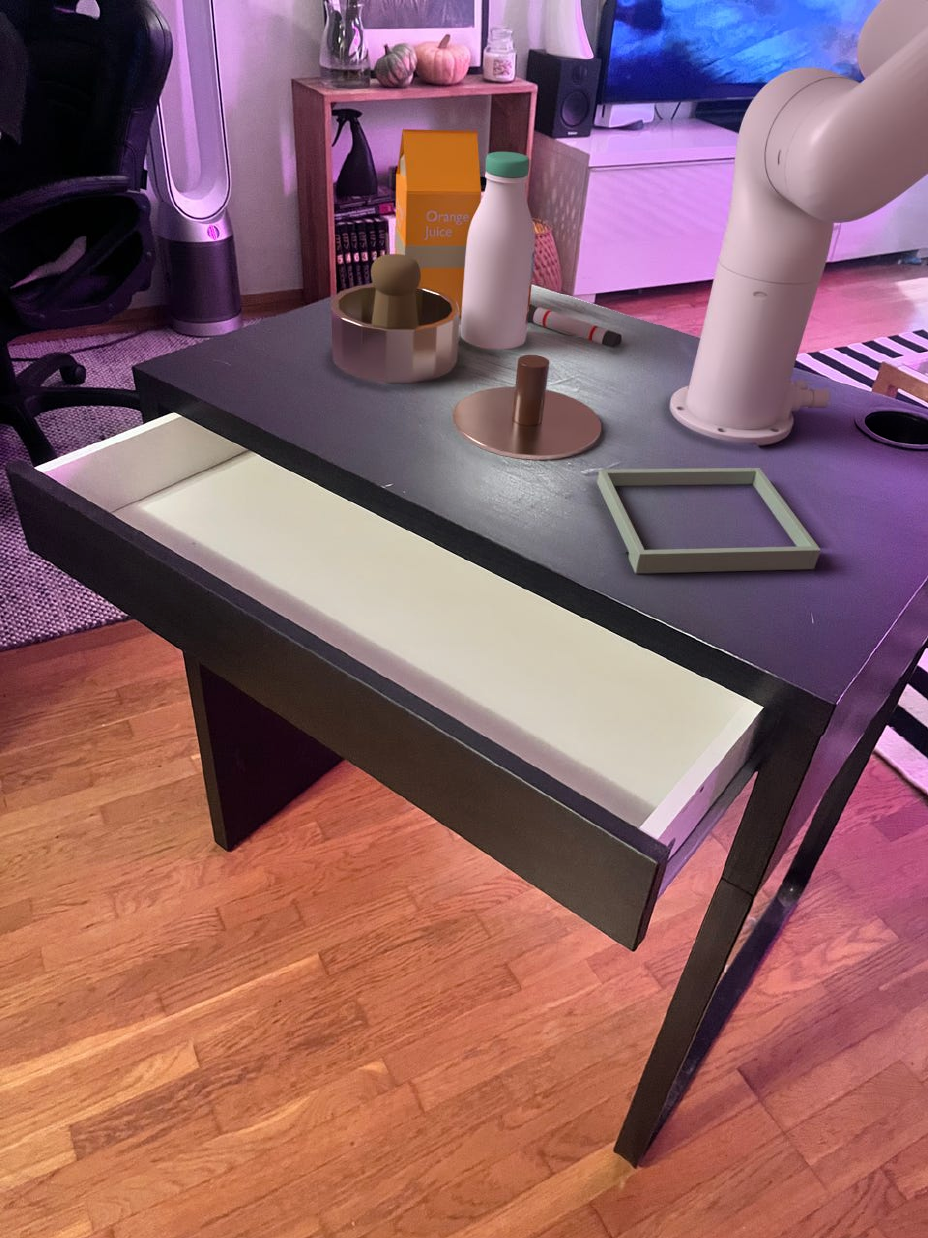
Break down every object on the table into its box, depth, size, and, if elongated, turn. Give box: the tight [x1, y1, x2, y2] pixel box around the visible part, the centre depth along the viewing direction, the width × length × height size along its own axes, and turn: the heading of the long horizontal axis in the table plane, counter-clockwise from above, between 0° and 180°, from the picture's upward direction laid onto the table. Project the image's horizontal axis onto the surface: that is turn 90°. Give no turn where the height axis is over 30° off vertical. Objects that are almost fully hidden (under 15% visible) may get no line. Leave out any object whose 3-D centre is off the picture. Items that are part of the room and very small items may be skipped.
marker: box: [528, 303, 623, 349], centre depth 111 cm, size 15×2×2 cm, turn 52°
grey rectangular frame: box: [596, 467, 822, 574], centre depth 78 cm, size 15×13×2 cm
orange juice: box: [394, 128, 482, 318], centre depth 109 cm, size 8×9×20 cm
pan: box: [330, 283, 461, 384], centre depth 100 cm, size 14×14×6 cm
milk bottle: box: [460, 151, 536, 351], centre depth 102 cm, size 8×8×20 cm
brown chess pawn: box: [370, 253, 421, 327], centre depth 98 cm, size 6×6×11 cm
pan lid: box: [452, 354, 602, 461], centre depth 89 cm, size 15×15×7 cm
